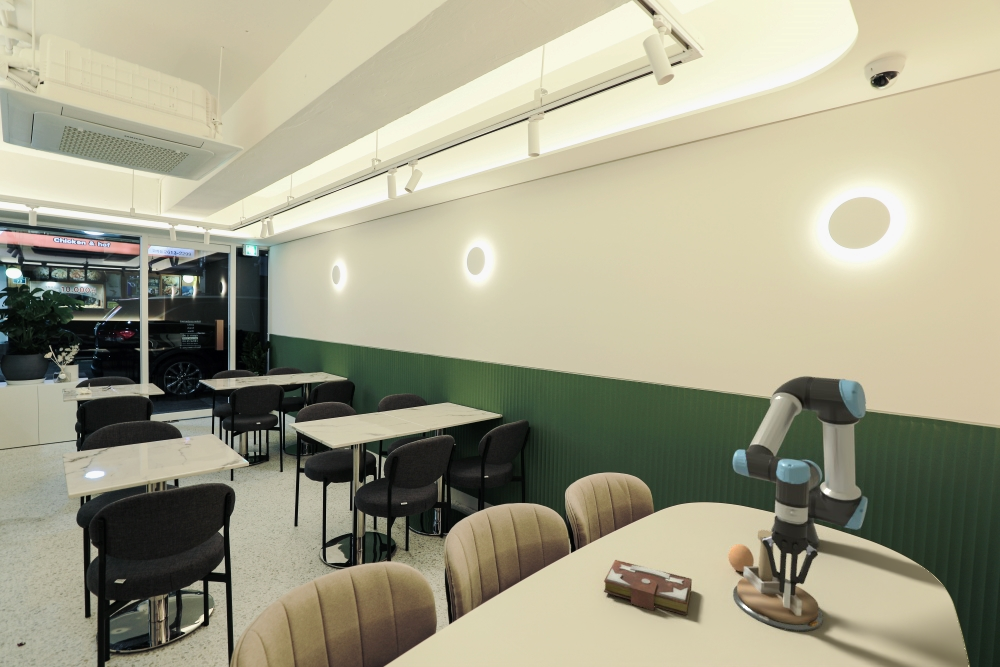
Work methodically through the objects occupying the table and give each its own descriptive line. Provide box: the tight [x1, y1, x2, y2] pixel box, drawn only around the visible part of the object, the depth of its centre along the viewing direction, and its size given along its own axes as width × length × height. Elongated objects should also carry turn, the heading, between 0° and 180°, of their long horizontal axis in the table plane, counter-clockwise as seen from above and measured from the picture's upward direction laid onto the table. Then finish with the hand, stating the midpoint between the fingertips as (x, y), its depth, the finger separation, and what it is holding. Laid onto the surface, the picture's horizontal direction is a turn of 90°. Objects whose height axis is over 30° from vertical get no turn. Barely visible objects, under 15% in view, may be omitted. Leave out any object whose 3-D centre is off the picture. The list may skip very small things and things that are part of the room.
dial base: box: [732, 585, 824, 633], centre depth 135 cm, size 22×22×2 cm
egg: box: [728, 543, 755, 573], centre depth 154 cm, size 7×7×8 cm
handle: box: [757, 529, 775, 582], centre depth 140 cm, size 5×6×15 cm
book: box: [603, 559, 693, 616], centre depth 140 cm, size 23×16×5 cm
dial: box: [736, 566, 820, 624], centre depth 135 cm, size 20×20×6 cm
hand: (786, 604), depth 127 cm, fingers closed
